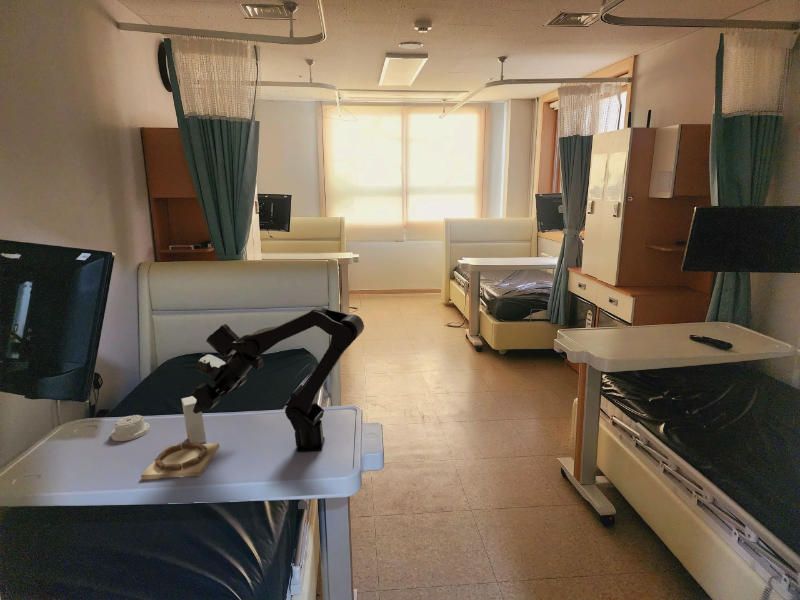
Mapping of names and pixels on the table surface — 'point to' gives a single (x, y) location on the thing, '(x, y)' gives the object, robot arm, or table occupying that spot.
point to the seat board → (181, 461)
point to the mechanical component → (129, 428)
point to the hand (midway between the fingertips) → (204, 405)
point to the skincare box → (193, 421)
